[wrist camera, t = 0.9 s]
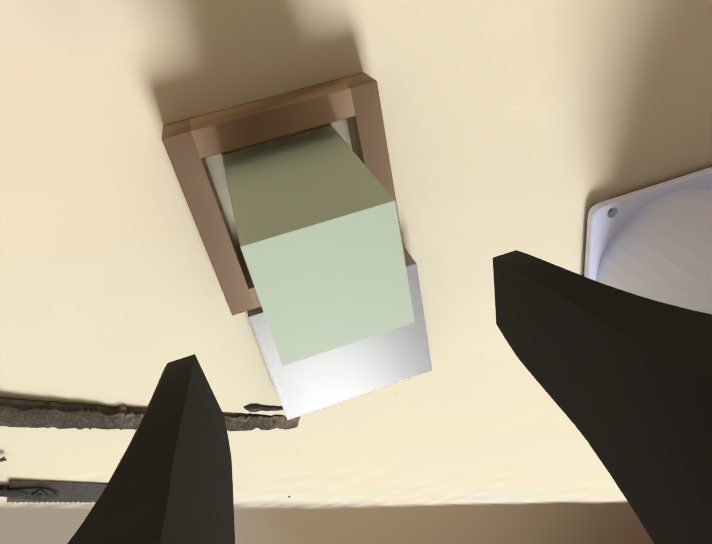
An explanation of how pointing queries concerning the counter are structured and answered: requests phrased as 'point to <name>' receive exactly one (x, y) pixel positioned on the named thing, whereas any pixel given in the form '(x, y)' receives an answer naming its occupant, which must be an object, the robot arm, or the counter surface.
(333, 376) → the rack plate
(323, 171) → the peg
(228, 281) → the socket block
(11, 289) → the counter surface
